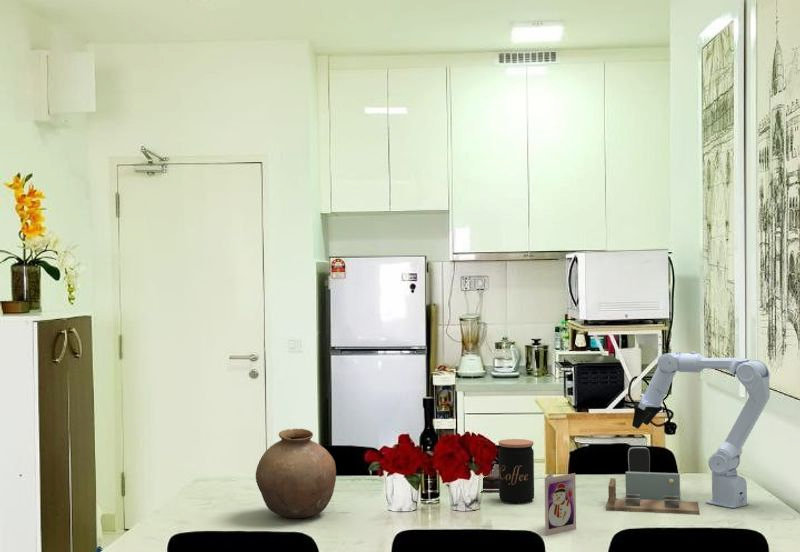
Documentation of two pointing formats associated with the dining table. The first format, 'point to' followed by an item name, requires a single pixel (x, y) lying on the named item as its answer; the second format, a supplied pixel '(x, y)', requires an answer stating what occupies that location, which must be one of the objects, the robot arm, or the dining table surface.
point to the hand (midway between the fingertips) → (639, 425)
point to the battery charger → (639, 459)
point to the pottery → (296, 475)
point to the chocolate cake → (492, 481)
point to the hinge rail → (648, 503)
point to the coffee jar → (516, 471)
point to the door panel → (653, 485)
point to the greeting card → (560, 503)
